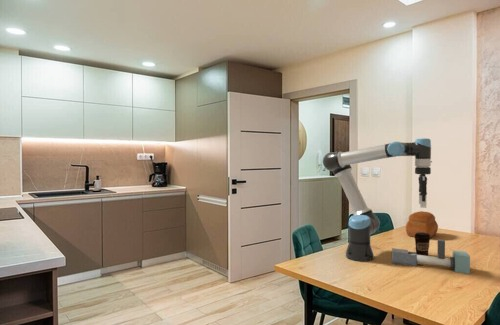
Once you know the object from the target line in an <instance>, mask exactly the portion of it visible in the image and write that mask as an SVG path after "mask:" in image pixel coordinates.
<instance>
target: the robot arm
mask: <svg viewBox="0 0 500 325" xmlns="http://www.w3.org/2000/svg"><path fill="white" fill-rule="evenodd" d="M395 157H414V166H415V168H414V174H416V175H419V176H418V204H419V205H420V208H422V209H424V208H425V209H426V208H427V195H428V192H427V188H428V187H427V185H428V177H427V175H431V173H432V168H431V163H433V161H432V160H431V159H432V142H431V139H430V138H425V137H424V138H415V141H414V142H402V141H392V142H390V143H384V144H379V145H375V146H369V147H366V148H365V147H364V148H359V149H354V150H350V151H345V152H343V151H335V152H333V151H331V152H328V153H326V154H325V155H324V157H323V159H322V165H323V167H324V168H325V169H326V170H327V171H331V172H332V174H333V175H334V177H336V178H337V179H338V181H339V183H340V185H341V187H342V189H343V191H344V194H345V196H346V198H347V200H348V202H349V204H350V207H351V208H352V211H353V214H352V215H351V216H350V217H349V219H348V244H347V247H346V250H345V258H347V259H348V260H352V261H355V262H370V261H373V260H374V258H375V257H374V256H375V255H374V252H373V249H372V246H371V235H373V234H375V233H376V232H377V231H379V228H380V225H381V224H380V218H378V216H377V215H376V214H374V212H373V210H372V209H371V208H369V207H368V205H367V203H366V202H365V199H364V197H363V195H362V193H361V190H360V189H359V186H358V184H357V182H356V180H355V178H354V175H353V174H352V170H353V168H352V166H351V165H355V164H360V163H361V164H362V163H365V162H371V161H376V160H382V159H389V158H395Z"/></svg>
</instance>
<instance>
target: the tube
mask: <svg viewBox="0 0 500 325" xmlns="http://www.w3.org/2000/svg"><path fill="white" fill-rule="evenodd" d="M411 255H415V254H411ZM418 263H419V264H427V265H435V266H445V267H449V268H450V269H454V267H455V259H454V257H453V256H449V257H446V240H445V239H437V256H433V255H432V256H431V255H429V256H424V255H417V264H418Z"/></svg>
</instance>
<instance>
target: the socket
mask: <svg viewBox="0 0 500 325" xmlns="http://www.w3.org/2000/svg"><path fill="white" fill-rule="evenodd" d="M452 257H454V259H455V267H454V268H453V271H454V273H457V274H458V273H460V274H465V275H466V274H468V275H470V274H471V256H470V255H469V253H468V252H467V251H463V250H452Z"/></svg>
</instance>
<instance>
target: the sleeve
mask: <svg viewBox="0 0 500 325" xmlns="http://www.w3.org/2000/svg"><path fill="white" fill-rule="evenodd" d="M411 254H415V255H411ZM391 264H393V265H400V266H401V265H402V266H408V267H409V266H410V267H418V263H417V255H416V251H409V250H408V249H402V248H391Z"/></svg>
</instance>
